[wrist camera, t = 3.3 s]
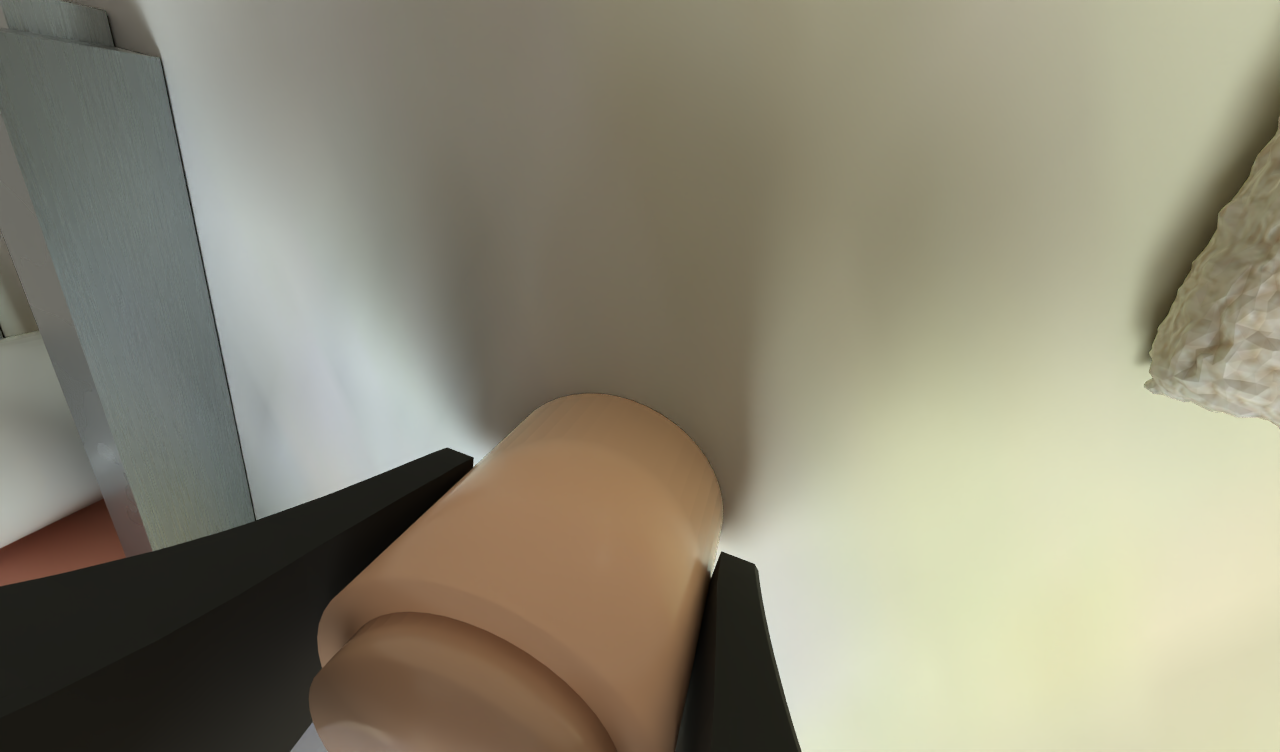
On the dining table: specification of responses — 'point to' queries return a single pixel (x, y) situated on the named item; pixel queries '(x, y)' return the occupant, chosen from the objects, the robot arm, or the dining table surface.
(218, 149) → the dining table surface
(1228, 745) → the dining table surface
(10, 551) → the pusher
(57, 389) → the grey jar
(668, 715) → the terracotta jar
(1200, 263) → the washcloth
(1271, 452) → the dining table surface
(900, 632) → the dining table surface
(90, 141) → the grey tray
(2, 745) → the robot arm
